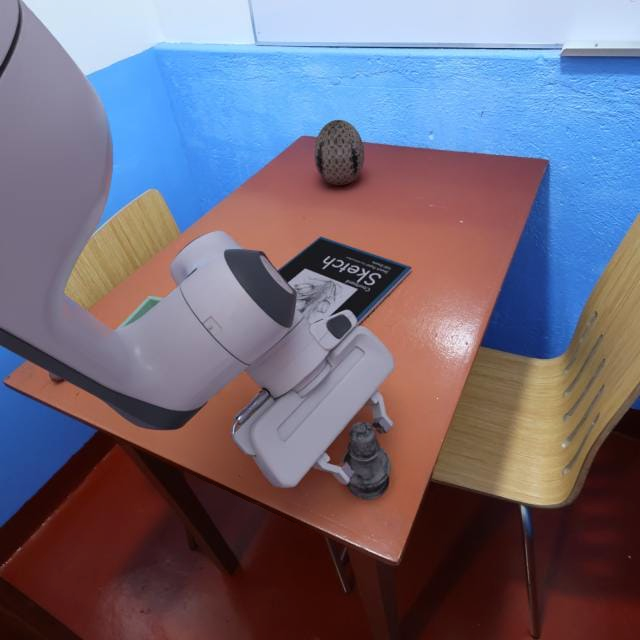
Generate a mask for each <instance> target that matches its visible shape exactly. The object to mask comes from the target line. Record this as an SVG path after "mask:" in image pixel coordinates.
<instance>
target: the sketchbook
mask: <svg viewBox="0 0 640 640" xmlns="http://www.w3.org/2000/svg"><path fill="white" fill-rule="evenodd" d="M412 268H413V267H412V266H410V265H407V264H404V263H400V262H398V261H395V260H392V259H388V258H386V257H383V256H380V255H378V254H374V253H371V252H368V251H366V250H363V249H359V248H356V247H353V246H351V245H348V244H344V243H341V242H339V241H335V240H332V239H331V238H327V237H324V236H319V237H318V238H316V239H315V240H314V241H313V242H312V243H310V244H309V245H308V246H306V247H305V248H304V249H302V251H300V252H299V253H297V254H296V255H295V256H294V257H293V258H291V259H290V260H289V261H287V262H286V263H285V264H284V265H282V266H281V267H280V268H279V269H277V271H278V272H279V273H280V274H281V275H282V277H283V278H284V279H285V280H286V281H287V282H288V284H289V285H290V286H291V287H292V288H294V289H295V290H296V292H297V298H296V307H295V309H297V310H298V311H300V312H301V313H302V314H303V315H304V316H305V317H306V319H307V320H308V321H309V322H310V323H312V324H313V323H314V322H316V321H318V320H320V319H325V318H328V317H330V316H332V315H335V314H337V313H339V312H341V311H344V310H350V311H351V312H352V313H353V314H354V315H355V317H356V319H357V324H356V326H361V324H362V323H363V321H365V320H366V319H367V318H368V317H369V315H371V314H372V313H373V312H374V311H375V310H376V309H377V307H378V306H380V304H381V303H382V302H383V301H384V300H385V299H386V298H388V296H389V295H390V294H392V292H393V291H394V290H395V289H396V288H397V287H398V286H399V285H400V284H401V283H402V282H403V281H404V280H405V279H406V278H407V277H408V276H409V275H410V274H411V273H412Z"/></svg>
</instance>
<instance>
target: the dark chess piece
mask: <svg viewBox="0 0 640 640" xmlns="http://www.w3.org/2000/svg"><path fill="white" fill-rule="evenodd" d="M348 437H349V441H348V445H347V451H346V452H345V453H344V455H343V457H342V459H341V463H348V465H349V466H350V467H351V470H354V472H355V475H354V476H353V478H352V479H351V480H350V482H349V483H348V484H346V486H347V487H348V490H349V492H351V494H352V495H353V496H355V497H356V498H358V499H361V500H365V501H371V500H376V499H378V498H380V497H381V496H382V495H384V494H385V492H386V491H387V490H388V488H389V485H390V473H391V470H392V461H391V458H390V456H389V454H388V452H387V451H386V450H385V449H384V448H383V447H382V446H381V445H380V442H379V440H378V438H377V436H376V429H375V428H374V427H373V426H372V425H371V424H370V423H369V422H366V421H358V422H356V423H354V424H352V425H351V426H350V428H349V432H348Z"/></svg>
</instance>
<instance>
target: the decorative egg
mask: <svg viewBox="0 0 640 640" xmlns="http://www.w3.org/2000/svg"><path fill="white" fill-rule="evenodd" d="M313 157H314V164H315V167H316V169H317V172H318V173H319V175H320V176H321V178H322V179H323V180H325V181H326V182H327V183H329V184H331V185H333V186H344V185H348V184H350V183H352V182H353V181H354V180H356V179H357V178H358V176H359V175H360V173H361V171H362V170H363V167H364V163H365V147H364V143H363V140H362V137H361V135H360V133H359V131H358V130H357V129H356V128H355V127H354V126H353V124H351V123H350V122H349V121H346V120H343V119H334V120H330V121H329V122H328V123H326V124H325V125H324V126H323V127H322V128H321V130H320V131H319V132H318V134H317V136H316V140H315V144H314V156H313Z"/></svg>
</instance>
